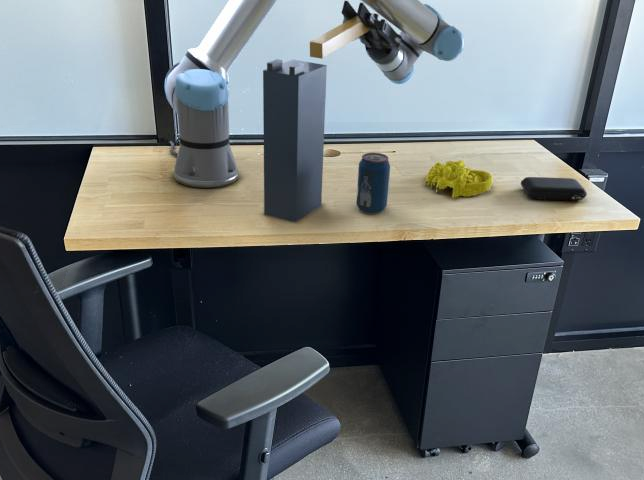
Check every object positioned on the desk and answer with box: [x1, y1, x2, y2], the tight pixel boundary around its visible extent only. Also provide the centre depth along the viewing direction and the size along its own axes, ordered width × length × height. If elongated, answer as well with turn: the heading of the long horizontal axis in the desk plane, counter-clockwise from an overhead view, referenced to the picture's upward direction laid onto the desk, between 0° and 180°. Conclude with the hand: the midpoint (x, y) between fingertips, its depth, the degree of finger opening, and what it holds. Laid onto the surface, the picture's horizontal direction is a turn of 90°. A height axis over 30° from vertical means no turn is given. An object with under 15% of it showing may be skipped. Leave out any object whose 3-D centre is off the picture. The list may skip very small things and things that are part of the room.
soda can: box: [355, 152, 391, 215], centre depth 165 cm, size 7×7×12 cm
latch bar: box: [309, 12, 373, 60], centre depth 163 cm, size 26×3×3 cm, turn 153°
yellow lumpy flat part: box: [424, 159, 493, 199], centre depth 183 cm, size 17×16×4 cm
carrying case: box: [520, 176, 588, 201], centre depth 180 cm, size 11×3×15 cm
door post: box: [262, 58, 328, 223], centre depth 157 cm, size 12×8×32 cm, turn 154°
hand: (352, 8), depth 163 cm, fingers closed on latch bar, 3 cm apart
